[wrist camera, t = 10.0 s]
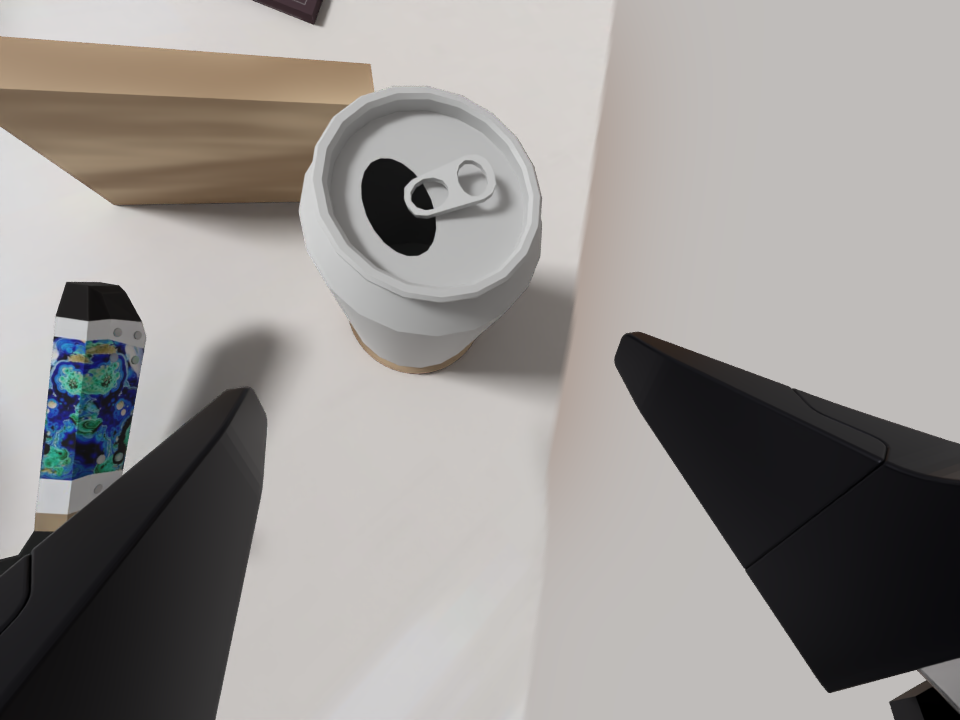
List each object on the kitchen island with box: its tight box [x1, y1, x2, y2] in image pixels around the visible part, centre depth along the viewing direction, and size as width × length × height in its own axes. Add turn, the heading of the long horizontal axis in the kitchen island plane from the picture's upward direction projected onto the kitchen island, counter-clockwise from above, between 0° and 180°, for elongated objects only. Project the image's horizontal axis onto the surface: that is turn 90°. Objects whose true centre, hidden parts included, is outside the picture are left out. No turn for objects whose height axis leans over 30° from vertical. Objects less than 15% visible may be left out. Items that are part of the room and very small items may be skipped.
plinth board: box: [0, 36, 374, 205], centre depth 16 cm, size 2×14×7 cm, turn 99°
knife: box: [0, 282, 146, 576], centre depth 14 cm, size 31×3×4 cm, turn 169°
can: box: [299, 86, 542, 368], centre depth 15 cm, size 8×8×12 cm
